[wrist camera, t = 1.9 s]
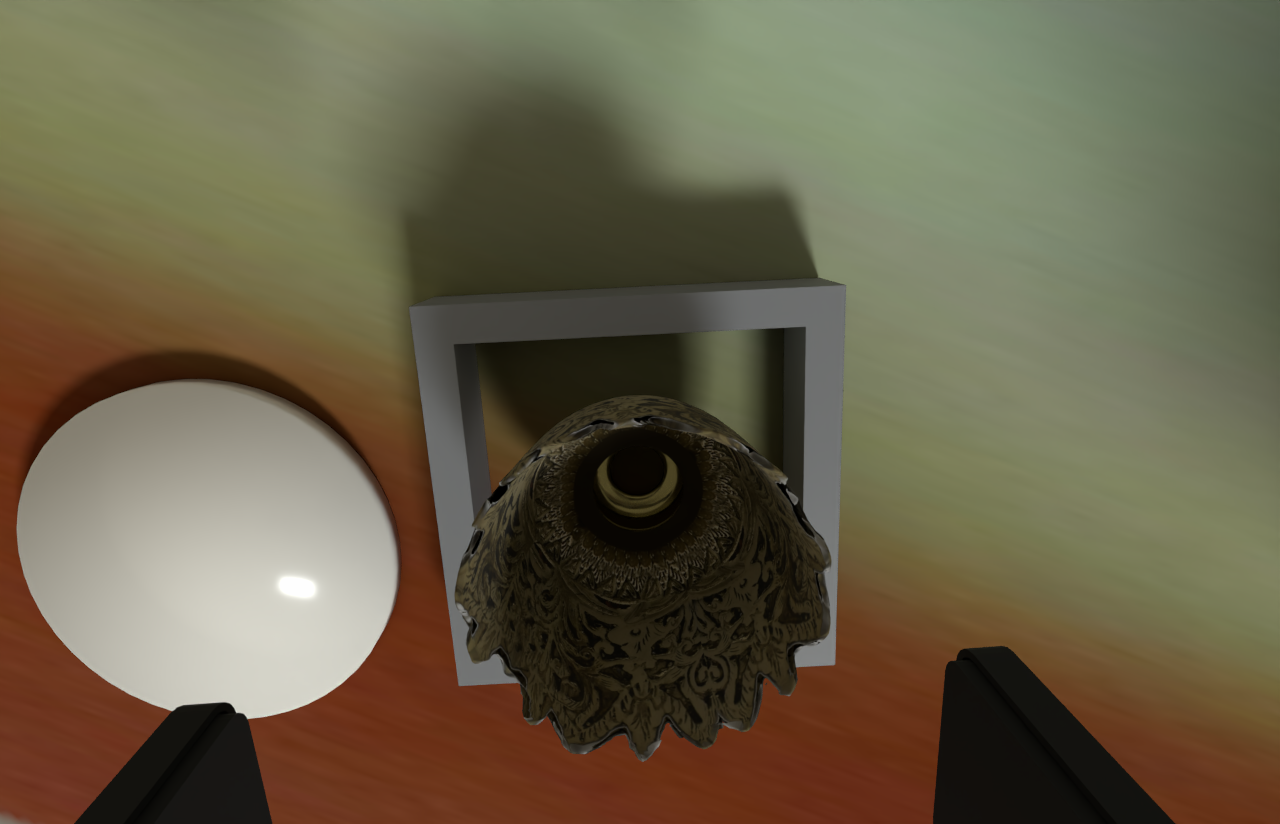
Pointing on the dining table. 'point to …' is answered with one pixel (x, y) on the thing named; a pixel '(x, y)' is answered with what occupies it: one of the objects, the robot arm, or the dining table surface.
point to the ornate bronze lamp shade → (643, 579)
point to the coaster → (209, 547)
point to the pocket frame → (468, 319)
